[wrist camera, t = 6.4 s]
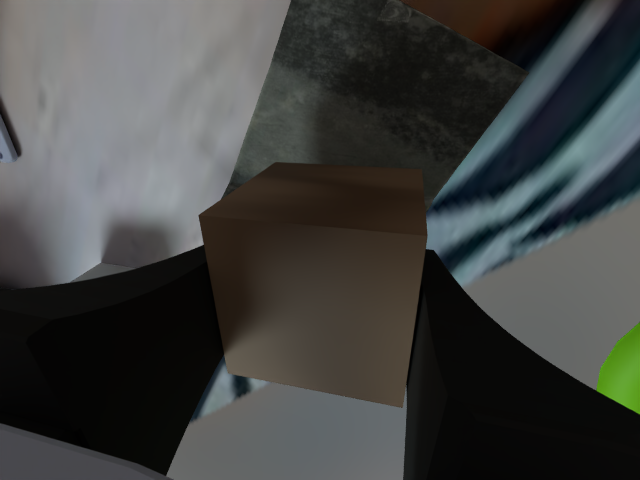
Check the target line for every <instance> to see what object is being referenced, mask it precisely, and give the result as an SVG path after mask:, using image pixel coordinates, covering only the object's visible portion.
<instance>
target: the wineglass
mask: <svg viewBox="0 0 640 480" xmlns="http://www.w3.org/2000/svg"><path fill="white" fill-rule="evenodd" d="M596 391H598V392H600V393H601V394H603V395H605V396H607V397H609V398H611V399H612V400H614V401H616V402H618V403H620V404H622V405H624V406H625V407H627V408H629V409H631V410H633V411H635V412H637V413H638V414H640V323H638V324H637V325H636V326H635V327H634V328H633V329H631V330H630V331H629V332H628V333H627V334H626V335H625V336H623V337H622V338H621V339H620V340H619V341H618V342H617V343H616V345H615V347H614V348H613V350H612V351H611V353H610V354H609V356H608V357H607V359H606V361H605V362H604V364H603V365H602V367H601V369H600V374H599V379H598V384H597V390H596Z"/></svg>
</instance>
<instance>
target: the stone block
mask: <svg viewBox="0 0 640 480" xmlns="http://www.w3.org/2000/svg"><path fill="white" fill-rule="evenodd" d="M528 74H529V72H527V71H525V70H524V69H522V68H520V67H519V66H517V65H515V64H513V63H511V62H510V61H508V60H506V59H504V58H502V57H500V56H498V55H496V54H495V53H493V52H491V51H489V50H488V49H486V48H484V47H483V46H481V45H479V44H477V43H476V42H474V41H472V40H470V39H469V38H467V37H465V36H463V35H461V34H459V33H457V32H455V31H454V30H452V29H450V28H449V27H447V26H445V25H443V24H441V23H440V22H438V21H436V20H434V19H432V18H431V17H429V16H427V15H425V14H423V13H421V12H419V11H418V10H416V9H414V8H412V7H410V6H408V5H407V4H405V3H403V2H401V1H399V0H291V3H290V6H289V9H288V12H287V15H286V18H285V21H284V24H283V27H282V30H281V34H280V37H279V40H278V43H277V46H276V49H275V52H274V55H273V58H272V62H271V65H270V68H269V71H268V74H267V76H266V79H265V82H264V85H263V87H262V90H261V93H260V96H259V99H258V102H257V105H256V108H255V111H254V113H253V116H252V119H251V122H250V125H249V127H248V130H247V133H246V136H245V139H244V142H243V145H242V148H241V151H240V154H239V157H238V159H237V162H236V165H235V168H234V171H233V174H232V177H231V179H230V182H229V184H228V186H227V188H226V190H225V192H224V195H223V197H222V198H221V199H223V198H224V197H226V196H227V195H228V194H230V193H231V192H233V191H234V190H236V189H237V188H239V187H240V186H241V185H243V184H244V183H246V182H247V181H249V180H250V179H252V178H253V177H254V176H256V175H257V174H259V173H260V172H262V171H263V170H265V169H266V168H267V167H269V166H270V165H272V164H273V163H275V162H287V163H307V164H327V165H347V166H367V167H387V168H407V169H422V176H423V188H424V200H425V212H427V210H428V209H429V207H430V206H431V204H432V201H433V199H434V198H435V197H436V195H437V194H438V193H439V191H440V190H441V189H442V188H443V186H444V185H445V184H446V182H447V181H448V180H449V178H450V177H451V176H452V174H453V173H454V171H455V170H456V169H457V167H458V166H459V165H460V164H461V162H462V161H463V160H464V159H465V157H466V156H467V155H468V153H469V152H470V151H471V149H472V148H473V146H474V145H475V144H476V143H477V141H478V140H479V139H480V137H481V136H482V135H483V133H484V132H485V131H486V129H487V128H488V127H489V125H490V124H491V123H492V122H493V120H494V119H495V118H496V116H497V115H498V114H499V112H500V111H501V110H502V108H503V107H504V106H505V104H506V103H507V102H508V100H509V99H510V98H511V96H512V95H513V94H514V92H515V91H516V90H517V88H518V87H519V86H520V84H521V83H522V82H523V80H524V79H525V78H526V76H527V75H528Z"/></svg>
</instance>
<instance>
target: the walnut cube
mask: <svg viewBox="0 0 640 480" xmlns="http://www.w3.org/2000/svg"><path fill="white" fill-rule="evenodd" d="M199 221H200V226H201V231H202V237H203V242H204V248H205V253H206V258H207V264H208V269H209V275H210V280H211V285H212V291H213V296H214V301H215V307H216V312H217V318H218V323H219V328H220V334H221V339H222V345H223V350H224V355H225V361H226V366H227V371H228V373H229V374H234V375H239V376H244V377H249V378H254V379H259V380H265V381H270V382H275V383H280V384H285V385H290V386H295V387H300V388H305V389H310V390H315V391H321V392H325V393H331V394H335V395H340V396H345V397H351V398H356V399H361V400H366V401H371V402H376V403H381V404H386V405H391V406H396V407H401V408H402V407H403V402H404V395H405V387H406V381H407V374H408V367H409V360H410V353H411V347H412V340H413V333H414V326H415V319H416V312H417V305H418V298H419V291H420V284H421V278H422V271H423V264H424V257H425V250H426V243H427V224H426V212H425V200H424V188H423V176H422V169H407V168H387V167H367V166H347V165H327V164H307V163H287V162H275V163H273V164H272V165H270V166H269V167H267V168H266V169H265V170H263V171H262V172H260V173H259V174H257V175H256V176H254V177H253V178H252V179H250V180H249V181H247V182H246V183H244V184H243V185H241V186H240V187H239V188H237V189H236V190H234V191H233V192H231V193H230V194H228V195H227V196H226V197H224V198H223V199H221V200H220V201H218V202H217V203H215V204H214V205H213V206H211V207H210V208H208V209H207V210H205V211H204V212H202V213H201V214H200V215H199Z"/></svg>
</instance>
